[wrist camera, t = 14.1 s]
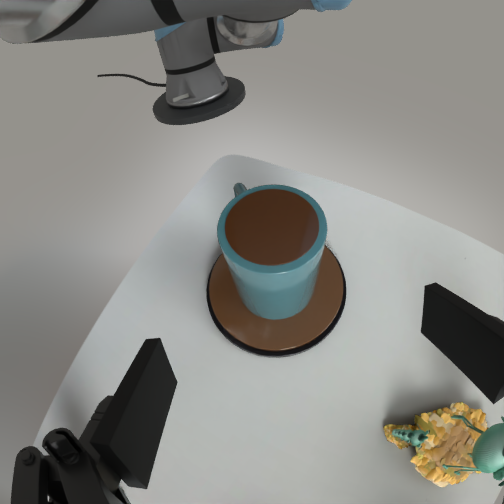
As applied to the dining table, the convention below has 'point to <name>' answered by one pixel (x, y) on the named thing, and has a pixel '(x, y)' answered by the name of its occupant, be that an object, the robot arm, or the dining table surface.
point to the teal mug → (274, 269)
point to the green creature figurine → (452, 444)
